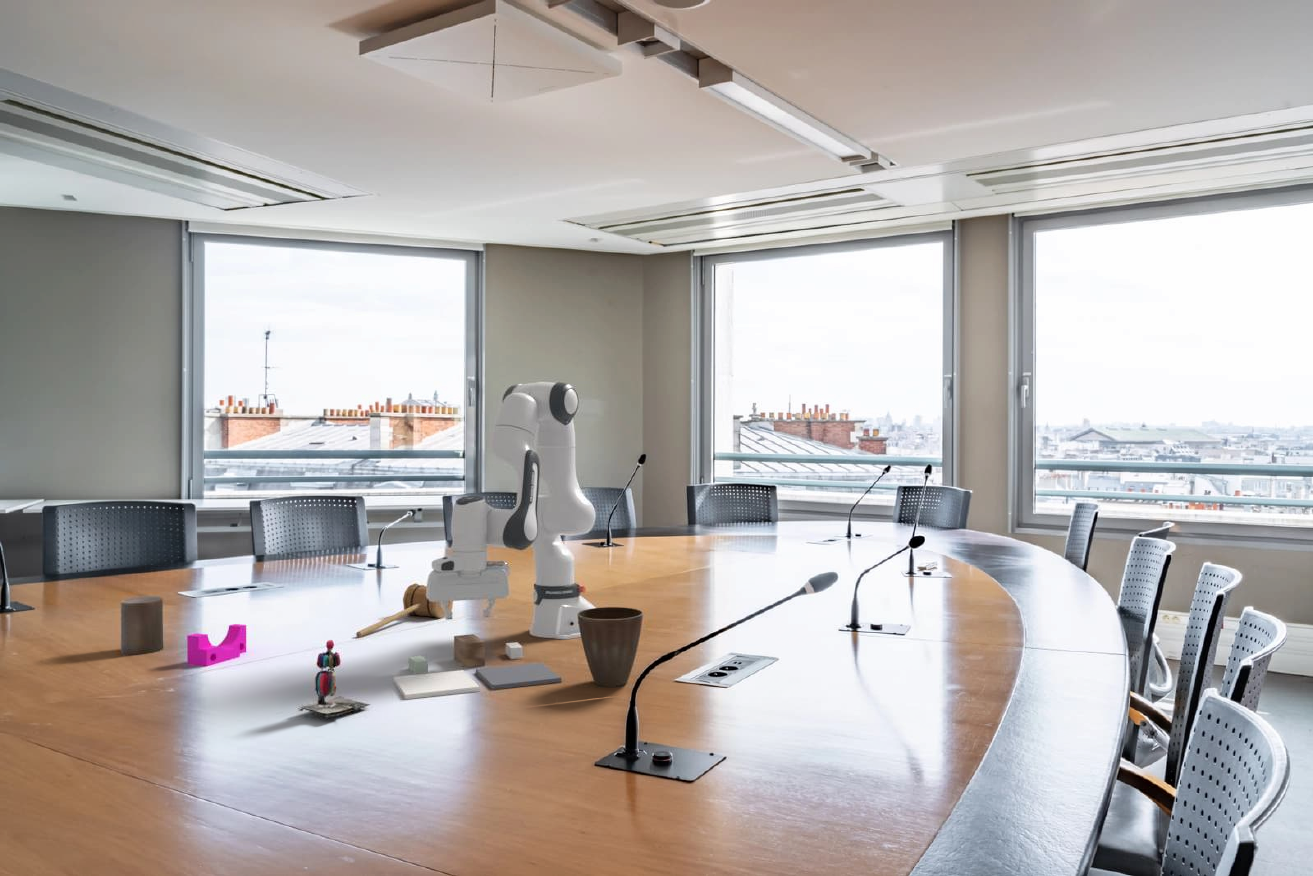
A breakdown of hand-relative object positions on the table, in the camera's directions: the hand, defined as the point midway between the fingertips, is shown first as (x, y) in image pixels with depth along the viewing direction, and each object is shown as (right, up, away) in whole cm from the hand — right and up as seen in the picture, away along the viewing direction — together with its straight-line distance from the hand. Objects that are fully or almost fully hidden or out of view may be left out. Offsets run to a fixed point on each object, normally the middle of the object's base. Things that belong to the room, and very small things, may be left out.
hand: (467, 618), depth 237 cm
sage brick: (-10, -11, -7) cm, 17 cm away
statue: (-19, -12, -41) cm, 47 cm away
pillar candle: (-87, -11, +11) cm, 88 cm away
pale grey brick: (+10, -11, +7) cm, 17 cm away
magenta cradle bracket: (-62, -11, +3) cm, 64 cm away
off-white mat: (-3, -11, -22) cm, 25 cm away
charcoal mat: (+14, -11, -14) cm, 23 cm away
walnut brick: (0, -11, +1) cm, 11 cm away
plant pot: (+36, -12, -18) cm, 42 cm away
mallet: (-28, -12, +45) cm, 54 cm away
